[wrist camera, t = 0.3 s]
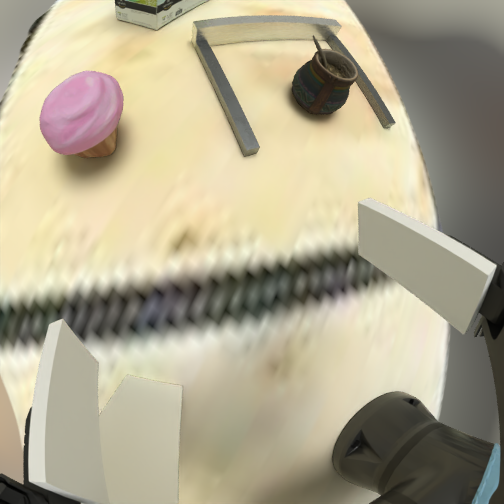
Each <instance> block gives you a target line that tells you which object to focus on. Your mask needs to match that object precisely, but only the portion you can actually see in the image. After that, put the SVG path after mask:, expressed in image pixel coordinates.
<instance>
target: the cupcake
mask: <svg viewBox="0 0 504 504" xmlns="http://www.w3.org/2000/svg"><path fill="white" fill-rule="evenodd" d="M122 110H123V94H122V90H121V88H120V86H119V83H118V82H117V81H116V79H114V78H113V77H112V76H110V75H107V74H104V73H101V72H95V71H83V72H80V73H78V74H75V75H72V76H71V77H69V78H68V79H66V80H65V81H63V82H62V83H61V84H59V85H58V86H57V87H55V88H54V89H53V90H52V91H51V93H50V94H49V95H48V96H47V98H46V99H45V101H44V104H43V107H42V111H41V114H40V129H41V132H42V134H43V136H44V138H45V139H46V141H47V143H48V144H49V146H50V147H51V148H52V149H53V150H54V151H55V152H57V153H59V154H64V155H70V154H76V155H78V156H80V157H83V158H88V157H102V156H107V155H110V154H111V153H112V152H113V151H114V150H115V148H116V145H115V144H116V137H117V125H118V122H119V120H120V117H121V114H122Z"/></svg>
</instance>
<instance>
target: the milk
mask: <svg viewBox="0 0 504 504" xmlns="http://www.w3.org/2000/svg"><path fill="white" fill-rule="evenodd" d="M182 393H183V386H181V385H175V384H170V383H164V382H159V381H154V380H149V379H144V378H140V377H136V376H131V375H126V377H125V378H124V380H123V381H122V382H121V384H120V385H119V387H118V388H117V390H116V391H115V393H114V394H113V396H112V397H111V398H110V400H109V401H108V403H107V404H106V406H105V407H104V409H103V410H102V412H101V413H100V415H99V430H100V442H101V452H102V461H103V468H104V475H105V481H106V487H107V492H108V497H109V502H110V504H179V445H180V424H181V407H182ZM81 504H84V503H81Z"/></svg>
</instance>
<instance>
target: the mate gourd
mask: <svg viewBox="0 0 504 504" xmlns="http://www.w3.org/2000/svg"><path fill="white" fill-rule="evenodd" d="M312 37H313V40H314V42H315V45H316V48H317V50H318V51H317V52H316V53H315V55H314V57H313V58H312V60H310V61H308V62H307V63H306V64H305V65H303V66H302V67H301V68H300V69H299V70H298V71H297V72H296V74H295V75H294V80H293V82H292V84H293V86H292V92H293V95H294V97H295V99H296V101H297V102H298V103H299V104H300V105H301V106H302V107H303V108H304V109H306V110H307V111H308V112H310V113H311V114H331V113H333V112H334V111H336V110H337V109H339V108H341V107H342V106H343V105H344V104H345V102H346V100H347V98H348V95H349V89H350V86H351V85H352V84H353V83H354V82H355V80H356V79H357V78H358V70H357V68H356V66H355V65H354V63H353V62H352V61H351V60H350V59H349V58H347V57H346V56H345V55H343V54H341V53H339V52H337V51H334V50H330V49H321V48H320V45H319V43H318V41H317V39H316V38H315V37H314V35H313V36H312Z"/></svg>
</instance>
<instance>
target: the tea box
mask: <svg viewBox="0 0 504 504" xmlns="http://www.w3.org/2000/svg"><path fill="white" fill-rule="evenodd" d="M206 1H208V0H115V8H116V16H117V19H119V20H123V21H126V22H130V23H134V24H137V25H141V26H144V27H148V28H151V29H154V30H158V29H159V28H160V27H162V26H163V25H165V24H167V23H168V22H170V21H171V20H173V19H175V18H176V17H178V16H180V15H182V14H183V13H185V12H187V11H188V10H190V9H193V8H194V7H196V6H198V5H200V4H202V3H204V2H206Z"/></svg>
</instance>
